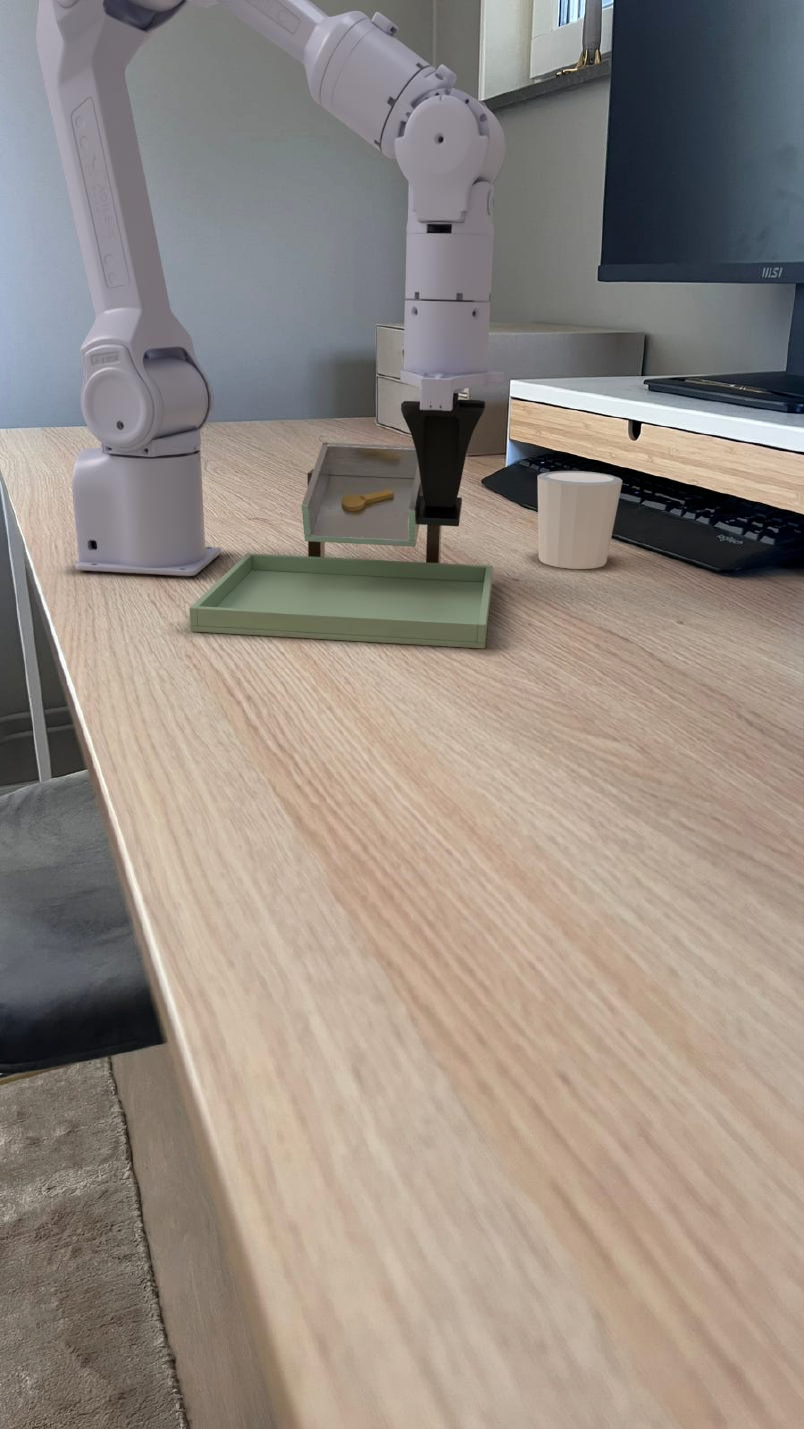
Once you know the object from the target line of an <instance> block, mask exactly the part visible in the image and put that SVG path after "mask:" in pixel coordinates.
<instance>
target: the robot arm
mask: <svg viewBox="0 0 804 1429" xmlns="http://www.w3.org/2000/svg"><path fill="white" fill-rule="evenodd" d="M190 4H192V5H195V7H196V6H197V7H198V8H199V9H207V8H209V7H211V6H214V5H217V4H219V5H220V6H222V7H224V8H225V9H226V10H228V11H229V12H230V13H231V14H233V15H234V16H236V17H237V18H238V19H240V20H242V21H243V22H244V23H245V24H247V25H248V26H249V27H251V28H252V29H254V30H255V31H256V32H258V33H260V34H261V35H262V36H264V37H265V38H266V39H268V40H269V41H271V42H272V43H273V44H274V45H276V46H278V47H279V48H280V49H282V50H283V51H284V52H286V53H287V54H289V55H290V57H292V58H294V59H295V60H297V61H298V62H300V63H301V64H302V65H303V67H304V70H305V73H306V79H307V80H306V81H307V84H308V89H309V93H310V96H311V98H312V99H313V101H314V102H315V103H316V104H317V105H319V106H320V107H321V108H323V109H324V110H326V111H327V112H328V113H329V114H331V115H332V116H333V117H335V118H336V119H337V120H339V121H340V122H341V123H343V124H344V125H345V126H347V127H348V128H349V129H350V130H352V131H353V132H354V133H355V134H356V135H358V136H359V137H361V138H362V139H363V140H364V141H366V142H367V143H368V144H370V145H371V146H372V147H373V148H374V149H376V150H378V151H379V152H380V153H382V154H383V155H384V156H385V157H386V158H388V159H389V160H396V161H397V164H398V166H399V169H400V171H401V173H402V174H403V176H404V177H405V179H406V180H407V182H408V193H407V194H408V197H407V198H408V199H407V200H408V201H407V208H408V209H407V223H406V230H405V231H406V232H405V234H406V238H405V239H406V240H405V241H406V242H405V243H406V245H405V247H406V248H405V284H404V285H405V290H404V292H405V294H404V299H405V300H404V322H403V323H404V324H403V326H404V328H403V329H404V331H403V366H402V367H403V368H401V369H400V373H399V374H400V378H399V379H400V380H399V381H400V382H401V383H403V384H406V385H408V386H411V387H413V388H417V389H420V390H419V391H420V392H419V400H416V401H415V400H403V402H401V403H400V411H401V414H402V417H403V419H404V421H405V424H406V426H407V428H408V430H409V433H410V435H411V436H410V437H411V438H412V442H413V446H415V450H416V454H417V459H418V466H419V473H420V480H421V487H422V492H423V497H424V501H425V505H426V506H435V507H454V505H455V502H456V499H457V497H458V496H459V492H460V488H461V483H462V479H463V474H464V468H465V463H466V458H467V454H468V449H469V446H470V443H471V440H472V437H473V433H474V431H475V430H476V427H477V425H478V423H479V421H480V419H481V417H482V415H483V413H484V412H485V409H486V401H484V400H481V399H480V400H479V399H459V397H460V396H459V394H461V393H463V392H465V389H470V388H477V387H482V386H487V385H489V384H503V383H504V380H505V378H504V377H505V372H504V371H502V370H488V359H489V358H488V357H489V356H488V355H489V340H490V339H489V338H490V337H489V336H490V318H491V317H490V316H491V300H492V281H493V280H492V279H493V259H494V242H495V240H494V239H495V226H494V207H495V187H496V186H495V183H496V182H497V181H498V179H499V177H500V175H501V173H502V171H503V168H504V165H505V162H506V155H507V143H506V142H507V141H506V137H505V133H504V130H503V127H502V125H501V124H500V122H499V119H497V118H498V117H496V115H495V114H494V113H493V112H492V111H491V110H490V109H489V108H488V106H487V105H486V103H485V102H484V101H482V100H479V99H477V98H474V97H473V96H471V95H470V94H468V93H467V92H465V91H464V90H461V89H458V88H454V86H455V83H456V82H457V80H458V75H457V74H456V73H455V72H454V71H452V70H451V69H450V68H448V67H447V66H446V65H445V64H440V65H438V68H436V67H434V66H433V65H431V64H430V63H429V62H427V61H426V60H425V59H423V58H422V57H421V56H420V55H418V54H417V53H416V52H414V51H413V50H412V49H410V47H408V46H407V45H405V44H404V43H403V42H401V41H400V40H399V39H398V38H396V35H397V34H398V32H399V27H398V25H396V24H395V23H394V22H392V21H391V20H390V19H389V18H387V17H386V16H385V15H383V14H382V13H381V12H379V11H376V12H375V13H374V15H373V16H372V19H371V17H369V16H368V15H366V14H365V13H364V12H362V11H359V10H352V11H348V12H345V13H341V14H336V15H334V16H333V15H332V16H329V15H327V14H326V13H325V12H324V11H323V10H322V9H320V8H319V7H318V6H317V5H315V4H314V3H313V2H312V1H311V0H38V10H37V19H36V26H35V42H36V50H37V55H38V59H39V63H40V69H41V74H42V79H43V84H44V87H45V93H46V96H47V101H48V105H49V110H50V114H51V120H52V124H53V129H54V133H55V137H56V142H57V146H58V152H59V156H60V161H61V166H62V169H63V174H64V179H65V184H66V188H67V194H68V197H69V201H70V206H71V207H70V208H71V211H72V216H73V221H74V224H75V230H76V233H77V239H78V242H79V248H80V252H81V256H82V261H83V267H84V270H85V275H86V280H87V284H88V289H89V293H90V298H91V302H92V307H93V312H94V316H95V320H94V322H93V324H92V326H91V328H90V329H89V331H88V332H87V335H86V337H85V339H84V340H83V342H82V344H81V346H80V348H79V352H80V357H81V362H82V368H83V379H82V386H81V391H80V409H81V413H82V417H83V419H84V422H85V424H86V426H87V428H88V429H89V431H90V432H91V434H92V435H93V436H94V438H96V439H97V440H98V441H99V442H100V448H97V447H91V448H90V447H89V448H85V449H82V450H81V451H80V452H79V453H78V455H77V456H76V458H75V461H74V464H73V469H72V477H71V478H72V479H71V488H72V489H71V493H72V503H73V512H74V523H75V534H76V535H75V536H76V544H77V555H78V561H77V562H76V563H75V570H77V571H89V572H105V573H106V572H107V573H122V574H123V573H125V574H142V575H143V574H144V575H159V576H160V575H163V576H181V577H193V576H196V575H198V573H199V572H201V571H203V569H204V568H206V567H207V566H208V565H209V564H210V563H212V561H214V560H215V559H216V558H217V557H218V556H219V555H221V554H222V548H221V547H218V546H206V537H205V533H206V532H205V515H204V514H205V513H204V512H205V511H204V494H203V474H202V472H203V471H202V452H201V446H202V445H201V444H202V442H201V441H202V440H201V431H202V430H203V429H204V428H205V427H206V426H207V424H208V423H209V421H210V419H211V417H212V415H213V411H214V405H215V398H214V397H215V396H214V395H215V394H214V389H213V385H212V383H211V380H210V378H209V376H208V375H207V373H206V372H205V370H204V369H203V367H202V366H201V364H200V362H199V360H198V358H197V355H196V352H195V348H194V343H193V338H192V336H191V335H190V333H189V332H188V330H187V329H186V328H185V327H184V325H183V324H182V323H181V322H180V320H179V319H178V318H177V317H176V315H175V314H174V312H173V310H172V309H171V304H170V300H169V294H168V289H167V284H166V279H165V275H164V273H165V272H164V269H163V264H162V257H161V254H160V249H159V248H160V247H159V243H158V237H157V233H156V227H155V223H154V222H155V221H154V217H153V213H152V208H151V203H150V198H149V192H148V188H147V182H146V177H145V172H144V166H143V160H142V157H141V151H140V146H139V140H138V136H137V131H136V125H135V120H134V115H133V109H132V105H131V100H130V95H129V88H128V85H127V78H126V69H127V67H128V65H129V64H130V62H131V61H132V59H133V58H134V56H135V55H136V53H137V52H138V50H139V48H141V47H142V46H143V45H145V43H147V42H148V41H149V40H150V39H151V38H152V37H154V36H155V35H156V34H158V33H159V32H160V31H161V30H162V29H163V28H164V27H166V26H167V25H168V24H169V23H170V22H171V21H173V20H174V19H175V18H176V17H178V16H179V15H180V14H181V13H182V12H183V11H184V10H185V9H186V8H187V7H188V6H189V5H190Z"/></svg>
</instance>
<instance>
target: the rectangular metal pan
mask: <svg viewBox="0 0 804 1429" xmlns="http://www.w3.org/2000/svg"><path fill="white" fill-rule="evenodd" d="M314 464H315V465H314V468H313V469H314V470H313V473H312V476H311V479H310V482H309V485H308V484H307V488H306V491H305V494H304V497H303V500H302V503H301V514H302V516H301V517H302V522H303V523H302V525H303V536H304V542H308V541H313V542H325V543H333V544H335V543H336V544H354V545H355V544H356V545H374V546H376V545H377V546H396V547H413V548H414V547H416V546H417V540H418V535H419V529H420V526H427V525H438V526H442V527H460V521H461V515H462V514H461V513H462V507H463V506H462V505H463V497H458V496H457V499H456V502H455V505H454V507H435V506H426V505H425V501H424V497H423V492H422V487H421V480H420V473H419V466H418V459H417V454H416V450H415V446H414V445H393V444H392V445H391V444H390V445H388V444H366V443H364V444H363V443H344V442H343V443H341V442H339V443H338V442H322V444H321V447H320V450H319V453H318V455H317V459H316V462H315V463H314ZM388 489H391V490H392V492H393V493H394V498H390V499H386V500H382V501H378V502H374V503H369V504H366V506H365V507H364V508H363V509H361V510H358V511H348V510H346V509H344V508H343V507H342V499H343V497H345V496H347V495H350V494H359V495H362V496H363V495H367V494H371V493H376V492H380V491H384V490H388Z"/></svg>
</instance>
